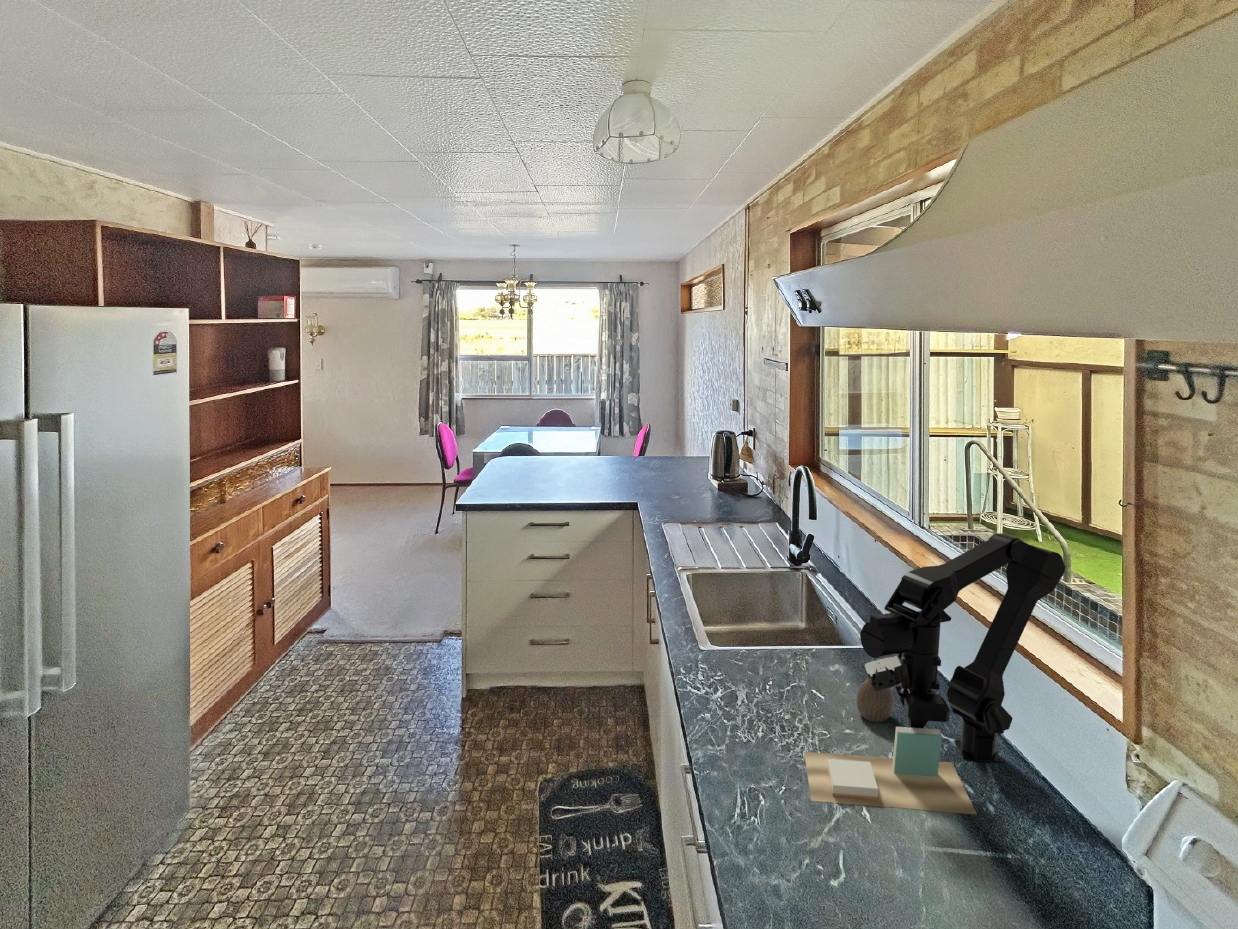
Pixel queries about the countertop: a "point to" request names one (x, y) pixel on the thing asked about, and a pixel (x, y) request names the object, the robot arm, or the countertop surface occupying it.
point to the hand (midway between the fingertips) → (914, 735)
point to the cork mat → (893, 786)
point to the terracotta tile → (852, 778)
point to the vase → (874, 703)
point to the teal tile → (916, 751)
